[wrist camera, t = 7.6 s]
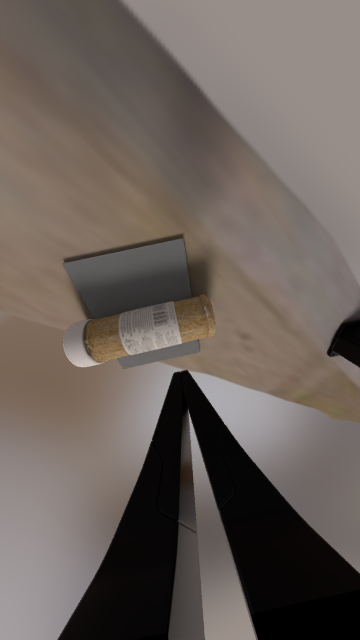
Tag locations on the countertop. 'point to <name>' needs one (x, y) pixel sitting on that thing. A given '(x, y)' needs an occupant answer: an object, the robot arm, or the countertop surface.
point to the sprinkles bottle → (139, 331)
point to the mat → (135, 288)
